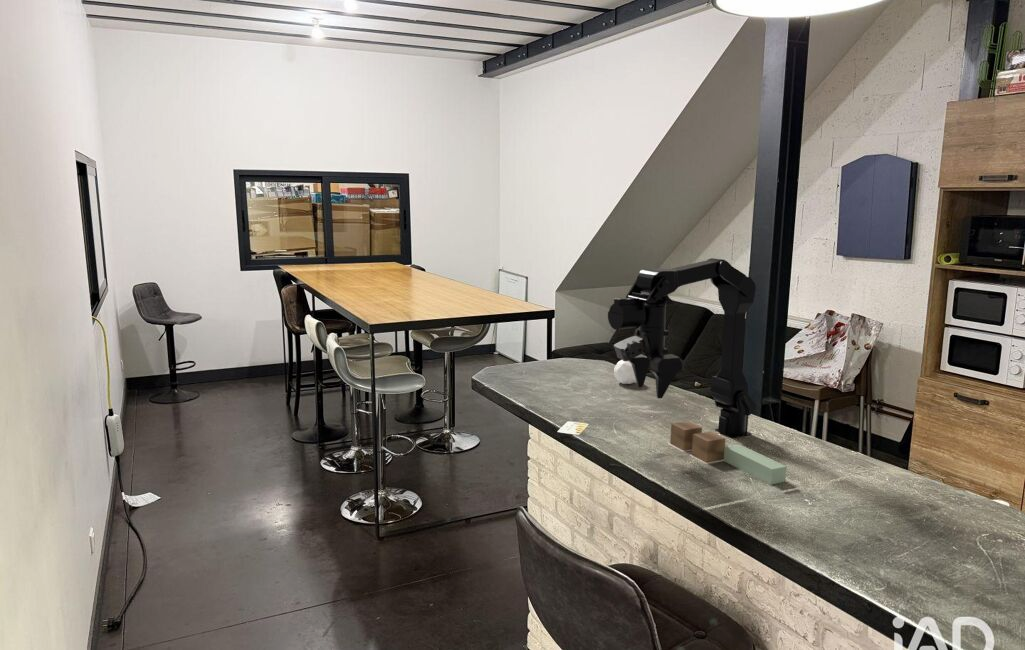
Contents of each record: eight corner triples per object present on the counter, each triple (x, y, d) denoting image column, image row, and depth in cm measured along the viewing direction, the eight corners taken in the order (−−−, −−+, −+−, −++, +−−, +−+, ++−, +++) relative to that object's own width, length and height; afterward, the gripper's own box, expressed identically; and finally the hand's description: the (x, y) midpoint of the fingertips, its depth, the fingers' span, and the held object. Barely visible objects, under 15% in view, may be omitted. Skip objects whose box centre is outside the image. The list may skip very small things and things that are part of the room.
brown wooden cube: (687, 440, 167) (688, 420, 166) (700, 447, 162) (702, 427, 161) (670, 443, 165) (671, 423, 164) (683, 450, 160) (684, 430, 159)
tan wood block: (709, 452, 160) (710, 431, 159) (724, 459, 155) (725, 438, 154) (691, 455, 158) (692, 434, 157) (706, 462, 153) (707, 441, 152)
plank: (737, 461, 156) (738, 444, 155) (785, 484, 144) (786, 466, 143) (723, 463, 155) (724, 446, 154) (770, 487, 142) (771, 469, 141)
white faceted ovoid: (614, 376, 213) (601, 371, 225) (634, 390, 215) (621, 385, 226) (628, 355, 213) (614, 351, 225) (648, 370, 215) (634, 365, 227)
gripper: (601, 320, 162) (600, 384, 165) (639, 335, 144) (636, 407, 147) (644, 317, 165) (642, 380, 168) (686, 332, 147) (683, 403, 150)
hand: (649, 392), depth 158 cm, fingers open, 9 cm apart
